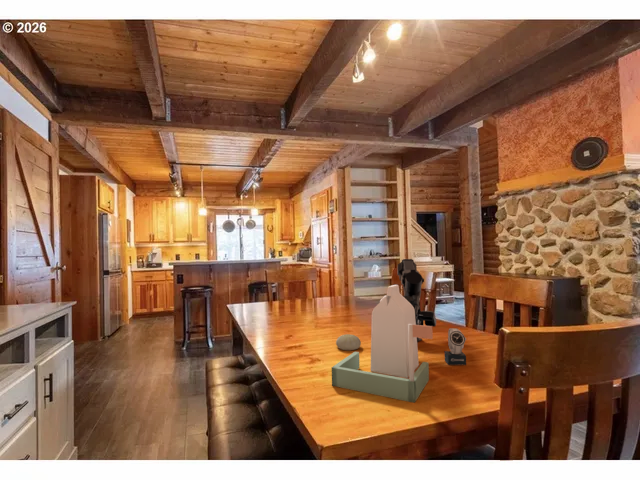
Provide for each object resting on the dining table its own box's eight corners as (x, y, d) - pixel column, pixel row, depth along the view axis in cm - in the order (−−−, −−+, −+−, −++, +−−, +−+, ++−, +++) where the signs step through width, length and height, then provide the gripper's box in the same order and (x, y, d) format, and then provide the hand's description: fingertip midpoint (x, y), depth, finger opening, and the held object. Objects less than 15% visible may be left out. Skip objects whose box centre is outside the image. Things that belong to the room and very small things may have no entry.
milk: (407, 378, 101) (404, 288, 101) (370, 371, 107) (368, 287, 107) (418, 365, 111) (416, 284, 111) (384, 359, 117) (383, 283, 117)
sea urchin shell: (362, 346, 126) (346, 331, 127) (347, 361, 127) (331, 345, 128) (364, 340, 135) (349, 325, 136) (350, 353, 136) (335, 338, 137)
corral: (355, 367, 110) (353, 307, 111) (445, 382, 97) (443, 314, 97) (331, 385, 96) (330, 317, 97) (433, 406, 83) (431, 327, 83)
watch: (450, 367, 109) (449, 332, 109) (443, 358, 117) (442, 326, 117) (468, 367, 108) (467, 332, 108) (460, 358, 116) (459, 326, 116)
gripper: (381, 285, 127) (371, 321, 117) (433, 287, 118) (427, 327, 108) (388, 303, 134) (379, 339, 124) (438, 307, 125) (433, 345, 115)
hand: (403, 337), depth 117 cm, fingers closed
